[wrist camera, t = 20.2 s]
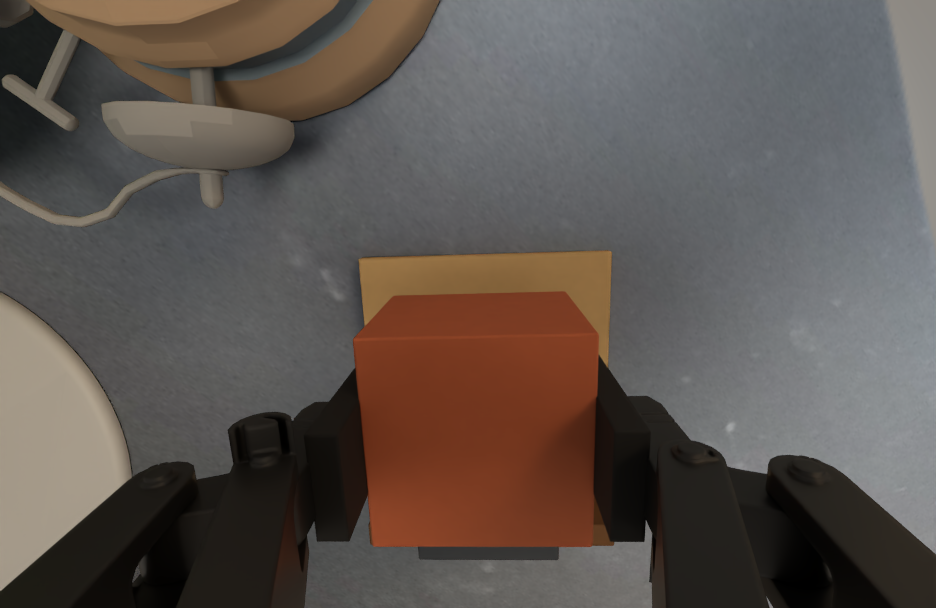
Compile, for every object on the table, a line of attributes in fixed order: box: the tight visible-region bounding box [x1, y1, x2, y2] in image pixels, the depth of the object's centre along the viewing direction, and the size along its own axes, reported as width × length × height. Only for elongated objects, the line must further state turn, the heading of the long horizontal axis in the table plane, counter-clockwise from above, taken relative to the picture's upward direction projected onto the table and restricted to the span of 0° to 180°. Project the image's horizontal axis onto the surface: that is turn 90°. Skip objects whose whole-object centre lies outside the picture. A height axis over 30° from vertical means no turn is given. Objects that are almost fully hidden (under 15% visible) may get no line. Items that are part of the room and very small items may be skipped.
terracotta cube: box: [353, 291, 599, 547], centre depth 14 cm, size 6×6×5 cm
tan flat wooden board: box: [359, 250, 614, 546], centre depth 23 cm, size 12×14×3 cm
